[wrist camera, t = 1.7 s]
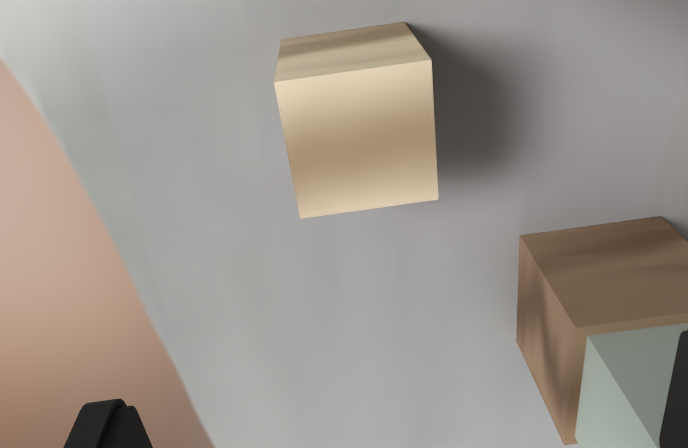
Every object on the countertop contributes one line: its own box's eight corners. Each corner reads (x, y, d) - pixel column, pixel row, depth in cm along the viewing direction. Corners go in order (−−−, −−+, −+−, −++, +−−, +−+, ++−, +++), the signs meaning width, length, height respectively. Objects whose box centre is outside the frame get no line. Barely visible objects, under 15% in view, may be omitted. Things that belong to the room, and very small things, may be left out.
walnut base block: (519, 235, 29) (575, 327, 23) (660, 215, 29) (754, 303, 23) (516, 340, 32) (564, 445, 26) (641, 323, 32) (718, 424, 26)
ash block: (281, 39, 23) (273, 82, 18) (403, 21, 23) (431, 59, 18) (301, 152, 26) (300, 218, 21) (412, 136, 26) (438, 199, 21)
